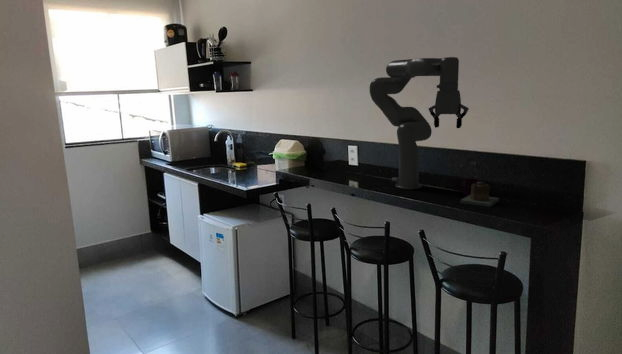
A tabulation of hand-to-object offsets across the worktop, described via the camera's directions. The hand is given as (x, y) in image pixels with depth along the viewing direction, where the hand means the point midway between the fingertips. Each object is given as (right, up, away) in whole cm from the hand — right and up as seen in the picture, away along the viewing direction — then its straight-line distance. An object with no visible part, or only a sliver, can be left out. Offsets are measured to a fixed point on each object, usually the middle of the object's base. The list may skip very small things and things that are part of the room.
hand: (447, 127), depth 190 cm
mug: (+12, -29, +7) cm, 32 cm away
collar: (+11, -31, -7) cm, 33 cm away
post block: (+11, -32, -6) cm, 34 cm away
